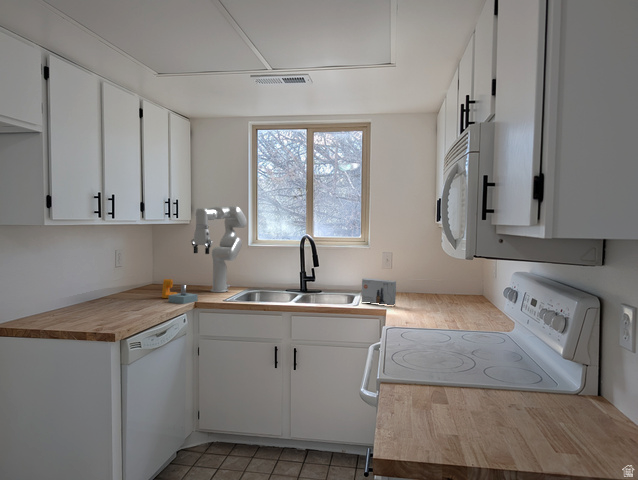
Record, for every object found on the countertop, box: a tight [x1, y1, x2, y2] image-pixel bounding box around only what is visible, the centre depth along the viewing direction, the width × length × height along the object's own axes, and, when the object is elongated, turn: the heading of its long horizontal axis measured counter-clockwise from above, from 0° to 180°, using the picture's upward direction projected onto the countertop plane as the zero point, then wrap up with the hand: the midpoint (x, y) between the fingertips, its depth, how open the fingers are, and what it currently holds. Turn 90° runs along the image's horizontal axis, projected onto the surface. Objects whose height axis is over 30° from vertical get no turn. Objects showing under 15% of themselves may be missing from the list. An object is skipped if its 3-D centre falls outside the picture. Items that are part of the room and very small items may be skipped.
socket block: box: [168, 292, 199, 305], centre depth 261 cm, size 12×12×4 cm
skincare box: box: [361, 277, 397, 305], centre depth 267 cm, size 21×5×16 cm, turn 62°
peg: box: [180, 284, 187, 296], centre depth 261 cm, size 3×3×10 cm
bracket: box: [161, 278, 178, 299], centre depth 272 cm, size 11×7×12 cm, turn 5°
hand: (201, 253), depth 279 cm, fingers open, 9 cm apart
